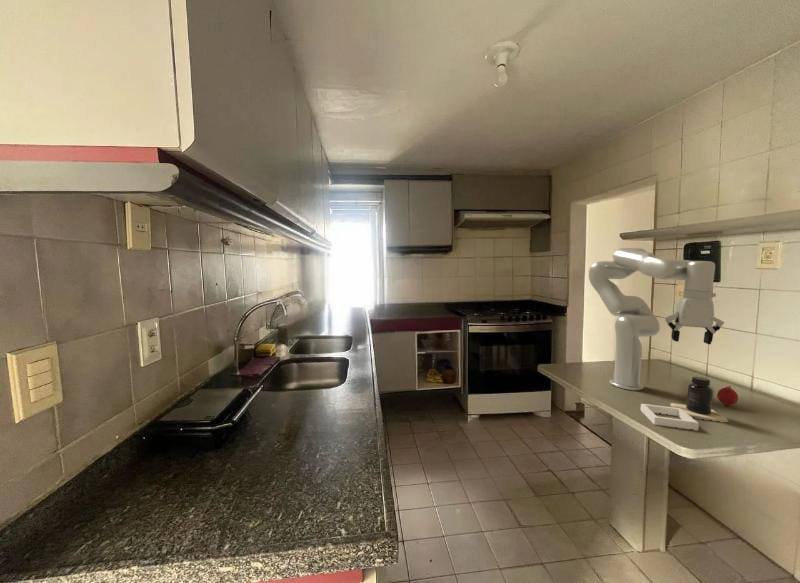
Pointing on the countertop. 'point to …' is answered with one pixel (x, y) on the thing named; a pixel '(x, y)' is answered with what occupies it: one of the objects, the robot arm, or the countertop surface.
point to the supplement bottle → (699, 396)
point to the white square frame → (685, 423)
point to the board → (712, 416)
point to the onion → (727, 396)
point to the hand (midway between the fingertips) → (691, 342)
